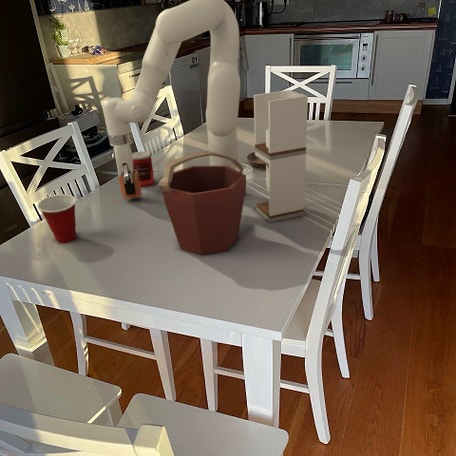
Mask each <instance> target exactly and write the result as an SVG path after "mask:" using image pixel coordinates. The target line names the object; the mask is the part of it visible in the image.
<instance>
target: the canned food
mask: <svg viewBox="0 0 456 456" xmlns="http://www.w3.org/2000/svg"><path fill="white" fill-rule="evenodd" d="M132 158H133V170H137V171H138V176H139V182H140V187H141V188H144V187H151V186H152V185H154V183H155V175H154V168H153V160H152V155H151V152H149V151H143V150H142V151H136V152H132Z"/></svg>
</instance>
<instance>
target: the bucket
mask: <svg viewBox="0 0 456 456" xmlns="http://www.w3.org/2000/svg"><path fill="white" fill-rule="evenodd" d="M209 156H216V157H221V158H225V159H228V160H231V161H232V162H233V163H234V164H235V165H236V166H237V168H236V169H233V168H231V167H229V166H210V165H190V166H187V167H184V168H181V169H179V170H175V168H177V167H179V166H180V165H182V164H184V163H187V162H190V161H192V160H195V159H199V158H205V157H209ZM243 171H244V166H243V165H242V164H241V163H240V162H239V161H237V160H235V159H233V158H231V157H228V156H225V155H223V154H219V153H215V152H210V151H209V150H208V151H200V152H195V153H189V154H187V155H184V156H181V157H177V158H175V159H173V160H171V161H169V162H168V163H166V164H165V169H164V174H163V177H162V178H161V179H160V180H159V182H158V184H157V187H158V188H159V189H160V190H161V191H162V197H163V198H162V199H163V202H164V204H165V207H166V210H167V213H168V216H169V220H170V222H171V224H172V225H171V226H172V228H173V231H174V234H175V237H176V240H177V243H178V245H179V249H180V250H184V251H187V252H189V253H193V254H197V255H200V256H205V255H209V254H215V253H220V252H226V251H229V250H230V248H232V246H233V245H234V244H235V243H236V241H237V240H238V239H239V233H240V227H241V220H242V214H243V208H244V202H245V196H246V191H247V190H246V189H247V175H246V174H245V173H242V172H243Z"/></svg>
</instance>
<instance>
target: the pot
mask: <svg viewBox="0 0 456 456" xmlns="http://www.w3.org/2000/svg"><path fill="white" fill-rule="evenodd" d="M128 174H130V172H128ZM117 177H118V182H119V186H120V191H121V195H122V198H124V199H126V200H127V199H128V200H130V199H136V198H138V197H140V196H142V187H140V182H139V176H138V171H137V170H133V174H132V180H133V182H134V187H135V192H136V194H133V195H126V191H125V186H124V178H123V173H122V175H121V176H119V174H118V173H117ZM129 177H130V176H129Z"/></svg>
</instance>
